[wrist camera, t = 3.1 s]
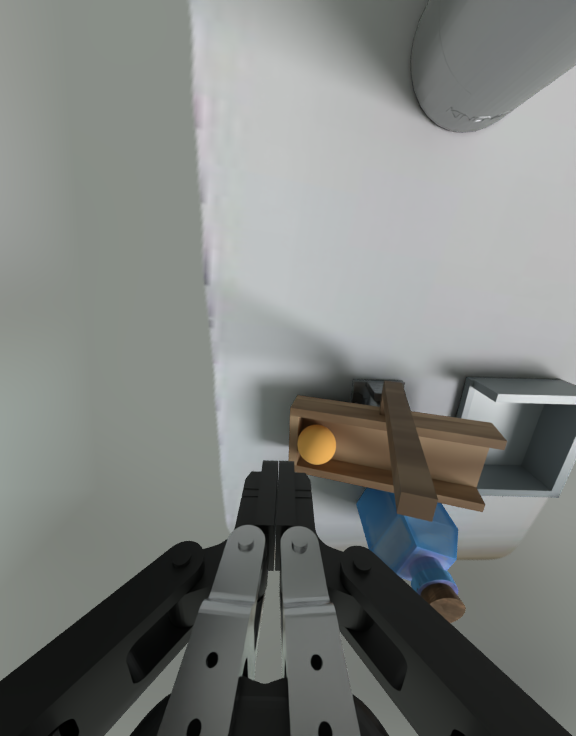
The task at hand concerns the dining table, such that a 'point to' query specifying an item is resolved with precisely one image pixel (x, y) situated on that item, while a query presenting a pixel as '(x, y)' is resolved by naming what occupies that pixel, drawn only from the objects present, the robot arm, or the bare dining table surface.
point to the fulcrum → (368, 391)
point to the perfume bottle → (414, 549)
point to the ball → (316, 444)
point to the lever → (399, 450)
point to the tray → (524, 433)
